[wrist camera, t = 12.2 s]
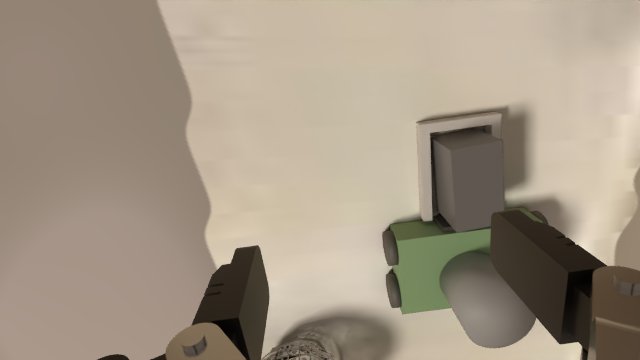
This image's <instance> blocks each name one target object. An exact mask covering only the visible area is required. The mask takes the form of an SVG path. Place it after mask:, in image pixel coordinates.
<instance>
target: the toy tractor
mask: <svg viewBox="0 0 640 360" xmlns="http://www.w3.org/2000/svg"><path fill="white" fill-rule="evenodd" d="M501 118H502V114H501V113H498V112H488V113H480V114H473V115H466V116H458V117H451V118H444V119H436V120H429V121H422V122H416V129H417V154H418V179H419V203H420V217H421V218H422V220H421V221H413V222H406V223H398V224H391V225H390V231H384V232H383V235H382V237H383V247H384V253H385V257H386V261H387V264H388V266H393V274H386V286H387V292H388V297H389V301H390V304H391V307H392V308H398V307H400V309H401V312H402V314H409V313H416V312H424V311H432V310H439V309H447V308H452V309H453V311H454V313H455V315H456V316H457V318H458V320H459V322H460V323H461V325H462V327H463V329H464V330H465V332H466V334H467V335H468V337H469V338H470V339H471V340H472V341H473V342H474V343H475V344H477V345H479V346H482V347H486V348H501V347H506V346H509V345H511V344H514V343H516V342H517V341H519V340H521V339H522V338H523V337H524V336H526V335H527V334H528V332H529V331H530V330H531V328H532V327H533V325H534V323H535V320H536V316H535V315H534V314H533V313H532V312H531V311H530V309H529V308H528V307H527V306H526V305H525V304H524V302H523V301H522V300H521V299H520V298H519V297H518V296H517V294H516V293H515V292H514V291H513V290H512V289H511V287H510V286H509V285H508V284H507V283H506V282H505V280H504V279H503V278H502V277H501V276H500V275H499V273H498V272H497V271H496V270H495V268H494V266H493V264H492V261H491V257H490V236H491V226H489V227H484V228H479V229H474V230H468V231H463V232H458V233H457V232H456V231H455V230H454V229H453V228H452V227H451V225H450V224H449V223H448V222H447V221H446V219H445V218H444V217H443V216H442V215H439V216H434V219H432V186H431V149H430V133H433V132H440V131H447V130H454V129H462V128H469V127H476V126H484V125H485V133H487V134H490V135H492V136H494V137H497V138H499V139H501ZM513 209H518V210H520V211H522V212H523V213H524V214H526V215H527V216H528V217H530V218H531V219H532V220H534V221H539V222H541V223H544V224H546V225H548V222H547V220H546V218H545V217H544V216H543V215H542V214H541V213H540V212H538V211H533V212H528V211H527V210H526V209H524V208H523V207H517V208H510V209H504V211H506V210H513Z"/></svg>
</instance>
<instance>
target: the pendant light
mask: <svg viewBox="0 0 640 360" xmlns="http://www.w3.org/2000/svg"><path fill="white" fill-rule="evenodd" d="M295 345H296V346H298V345H299V347H296V346H295ZM300 345H303V347H307V346H308V347H307V348H303V347H300ZM290 346H293V347H290ZM296 350H299V354H295V353H296V352H297V351H296ZM300 350H301V352H304V354H300ZM290 351H293V354H295V355H293V354H289V352H290ZM311 351H314V352H315V353H314V354H313V353H312V352H311ZM281 352H283V353H282V355H283V356H279V355H280V353H281ZM287 353H288V355H286V354H287ZM277 354H278V355H277ZM318 354H319V355H318ZM300 355H308V356H310V360H311V356H312V357H313V359H314V360H316V358H317V359H318V360H334V359H333V358H332V356H331V354H329V353H327V352H326V351H324V349H322V348H320V347H317V346H315V345H313V344H311V343H310V344H309V343H308V342H298V341H292V342H289V343H286V344H283V345H279V346H277V347H274V348H272V350H271V351H270V353H268V354H267V355H265V356H264V357H263V358H262V360H287V359H290V358H293V359H291V360H296V357H297V356H299V360H300ZM314 355H317V356H318V357H317V356H314ZM276 356H278V357H277V358H276ZM294 357H295V358H294ZM271 358H273V359H271ZM302 359H303V360H306V358H305V357H304V358H302ZM313 359H312V360H313Z"/></svg>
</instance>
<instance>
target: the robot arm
mask: <svg viewBox="0 0 640 360" xmlns="http://www.w3.org/2000/svg"><path fill="white" fill-rule="evenodd" d="M490 257H491V261H492V264H493V266H494V268H495V270H496V271H497V272H498V273H499V275H500V276H501V277H502V278H503V279H504V280H505V282H506V283H507V284H508V285H509V286H510V287H511V289H512V290H513V291H514V292H515V293H516V294H517V296H518V297H519V298H520V299H521V300H522V301H523V302H524V304H525V305H526V306H527V307H528V308H529V309H530V311H531V312H532V313H533V314H534V315H535V316H536V318H537V319H538V320H539V321H540V322H541V323H542V324H543V326H544V327H545V328H546V329H547V330H548V331H549V333H550V334H551V335H552V336H553V337H554V338H555V340H556V341H557V342H558V343H559V344H566V343H574V342H579V343H580V344H581V345H582V350H581V359H580V360H640V271H639V270H635V269H631V268H627V267H621V266H607V265H605V264H604V263H603V262H601V261H600V260H598V259H597V258H596V257H594V256H593V255H591V254H590V253H589V252H587V251H586V250H584V249H583V248H582V247H580V246H579V245H575V242H573V241H572V240H570V239H569V238H568V237H567V238H566V237H565V235H563V234H562V233H561V232H559V231H558V230H556V229H555V228H554V227H551V226H549V225H546V224H544V223H541V222H539V221H534V220H532V219H531V218H530V217H528V216H527V215H526V214H524V213H523V212H522V211H520V210H518V209H513V210H506V211H499V212H494V213H493V214H492V216H491V236H490ZM204 295H205V296H204V297H203V299H202V301H201V304H200V306H199V309H198V311H197V313H196V316H195V318H194V321H193V323H192V325H191V326H190V327H188V328H186V329H184V330H182V331H181V332H180V333H178V334H177V335H176V336H175V337H174V338H173V339H172V340H171V341H170V343H169V344H168V346H167V348H166V353H165V354H163V355H161V356H159V357H156V358H154V359H151V360H261V354H262V347H263V340H264V333H265V327H266V320H267V313H268V306H269V287H268V281H267V277H266V273H265V268H264V264H263V259H262V255H261V251H260V248H259V246H258V245H257V246H250V247H243V248H237V249H236V250H235V253H234V256H233V259H232V261H231V264H226V265H222V266H221V267H220V268H219V269H218V270H217V271H216V272H215V273H214V274H213V275H212V277H211V280H210V282H209V284H208V288H207V289H206V292H205V294H204ZM98 360H129V359H128V358H127V357H126V356H124V355H119V354H116V355H109V356H106V357H103V358H100V359H98Z"/></svg>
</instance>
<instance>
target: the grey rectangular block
mask: <svg viewBox="0 0 640 360" xmlns="http://www.w3.org/2000/svg"><path fill="white" fill-rule="evenodd" d="M430 140H431V150H432V161H433V171H434V181H435V192H436V202H437V210H438V211H439V212H440V213H441V215H442V216H443V217H444V218H445V219H446V221H447V222H448V223H449V224H450V225H451V227H452V228H453V229H454V230H455V231H456V232H457V233H458V232H463V231H468V230H474V229H479V228H484V227H489V226H491V216H492V214H493V213H494V212H499V211H504V179H503V140H501V139H499V138H497V137H494V136H492V135H490V134H487V133H485V132H483V131H481V130H478V129H476V128H473V129H468V130H463V131H458V132H453V133H448V134H443V135H438V136H433V137H430Z"/></svg>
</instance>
